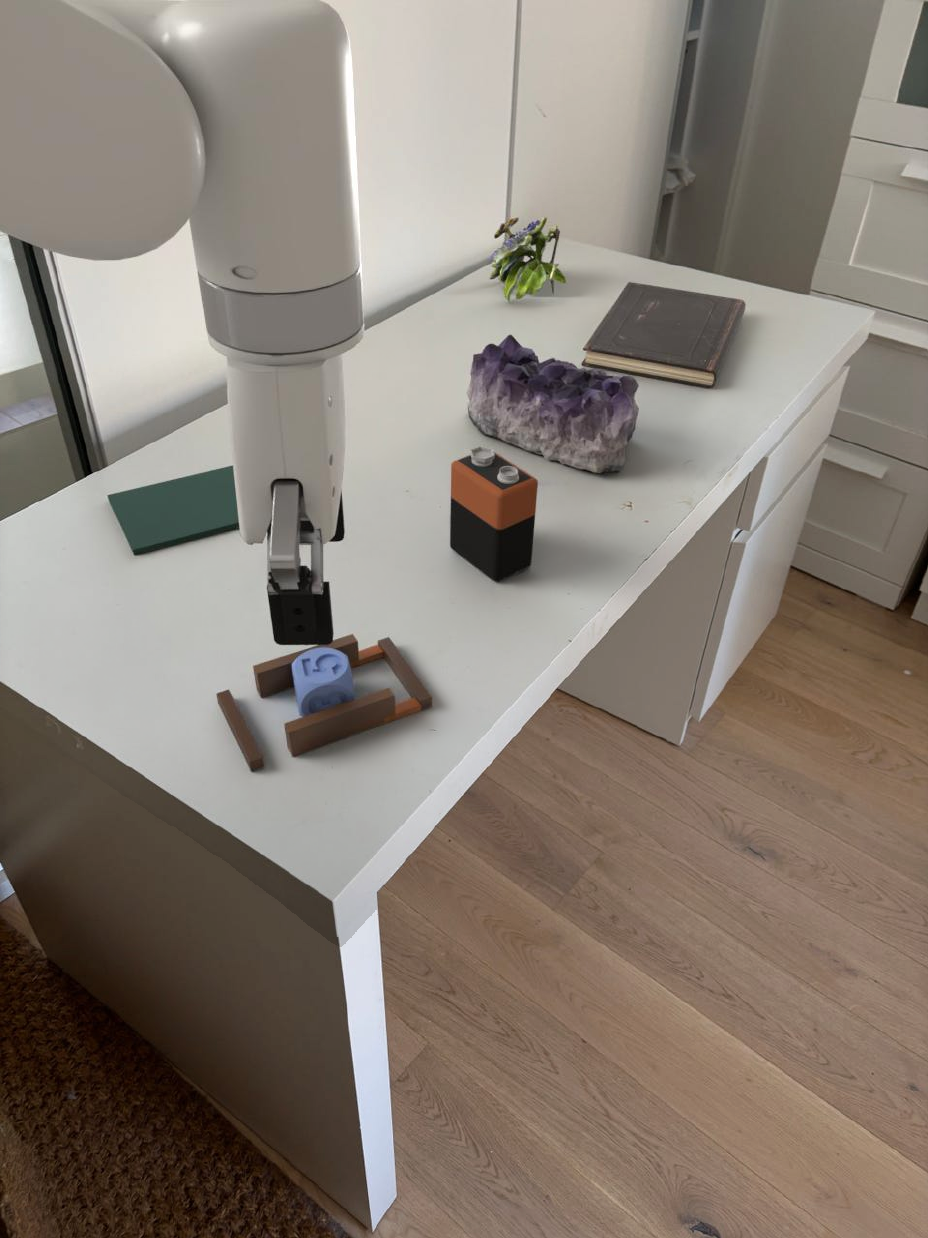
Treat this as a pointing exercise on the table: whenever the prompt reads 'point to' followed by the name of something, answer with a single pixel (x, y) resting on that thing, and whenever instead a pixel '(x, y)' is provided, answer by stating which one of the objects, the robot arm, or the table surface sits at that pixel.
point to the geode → (552, 407)
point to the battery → (492, 513)
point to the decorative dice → (322, 680)
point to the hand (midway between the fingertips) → (312, 587)
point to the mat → (177, 510)
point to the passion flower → (512, 257)
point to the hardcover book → (665, 334)
